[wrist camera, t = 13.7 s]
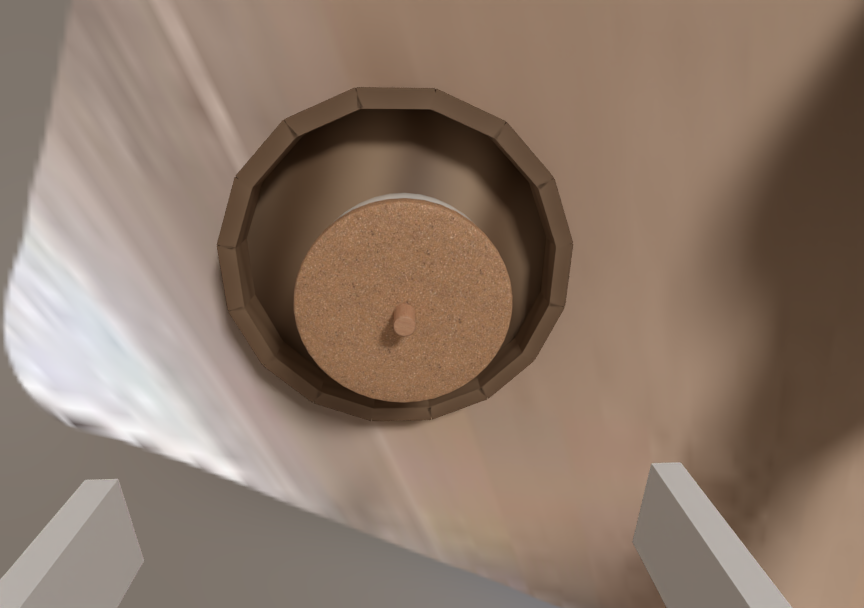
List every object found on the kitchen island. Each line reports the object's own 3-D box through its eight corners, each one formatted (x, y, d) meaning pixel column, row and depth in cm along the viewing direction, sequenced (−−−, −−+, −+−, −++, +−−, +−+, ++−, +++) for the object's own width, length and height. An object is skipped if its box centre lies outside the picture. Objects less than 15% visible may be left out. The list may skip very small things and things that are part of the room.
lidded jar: (452, 356, 33) (470, 445, 24) (300, 311, 31) (261, 391, 22) (514, 211, 29) (560, 256, 21) (345, 150, 27) (318, 172, 19)
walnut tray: (574, 91, 28) (593, 90, 25) (539, 392, 36) (550, 416, 33) (211, 86, 26) (189, 84, 24) (259, 398, 34) (247, 424, 32)
